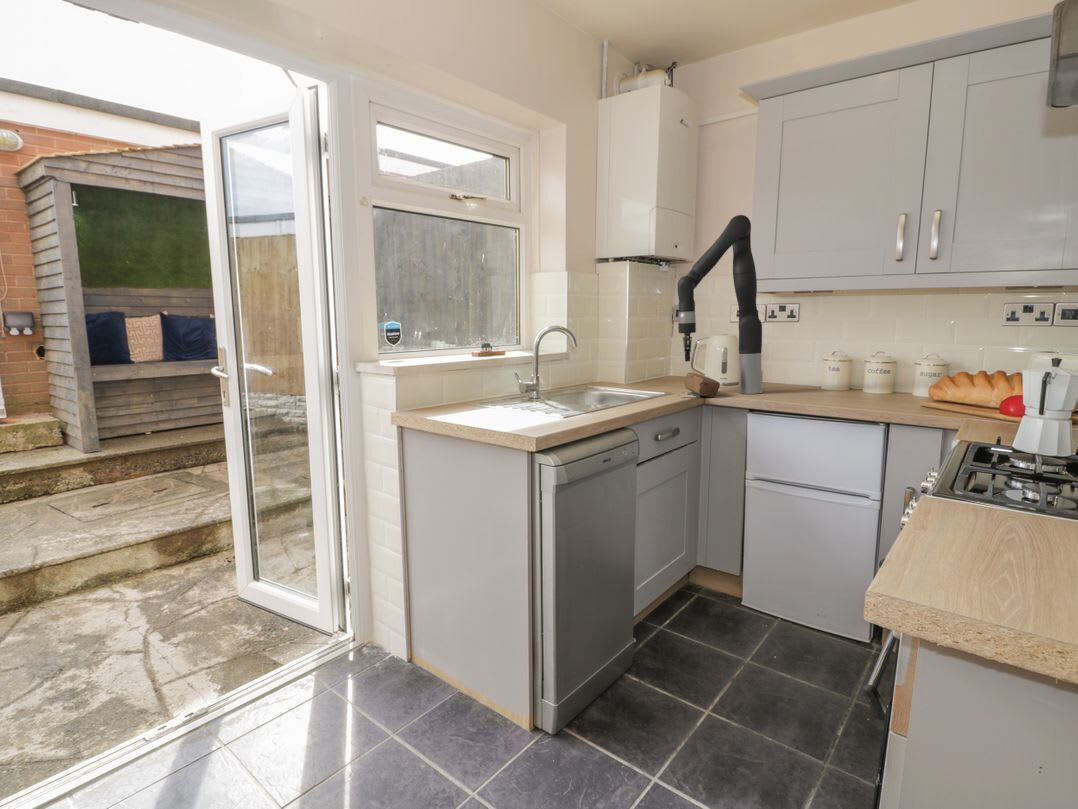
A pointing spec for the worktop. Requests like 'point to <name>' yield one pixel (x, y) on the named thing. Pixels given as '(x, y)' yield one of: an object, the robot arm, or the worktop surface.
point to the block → (701, 384)
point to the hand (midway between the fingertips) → (687, 361)
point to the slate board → (693, 394)
